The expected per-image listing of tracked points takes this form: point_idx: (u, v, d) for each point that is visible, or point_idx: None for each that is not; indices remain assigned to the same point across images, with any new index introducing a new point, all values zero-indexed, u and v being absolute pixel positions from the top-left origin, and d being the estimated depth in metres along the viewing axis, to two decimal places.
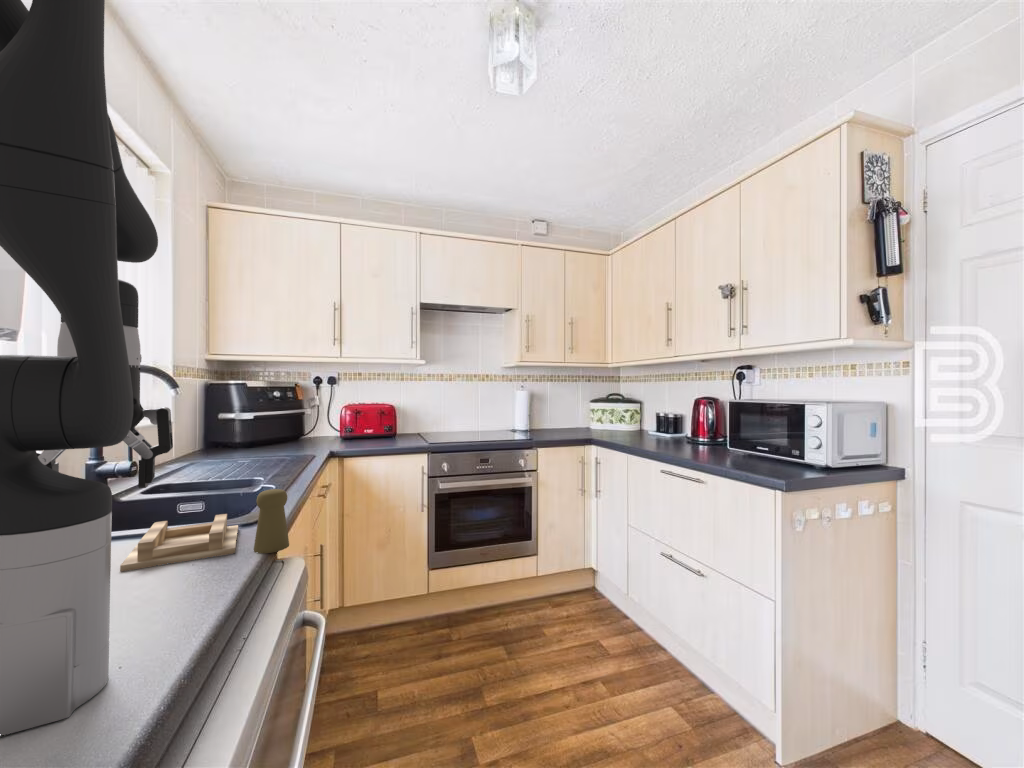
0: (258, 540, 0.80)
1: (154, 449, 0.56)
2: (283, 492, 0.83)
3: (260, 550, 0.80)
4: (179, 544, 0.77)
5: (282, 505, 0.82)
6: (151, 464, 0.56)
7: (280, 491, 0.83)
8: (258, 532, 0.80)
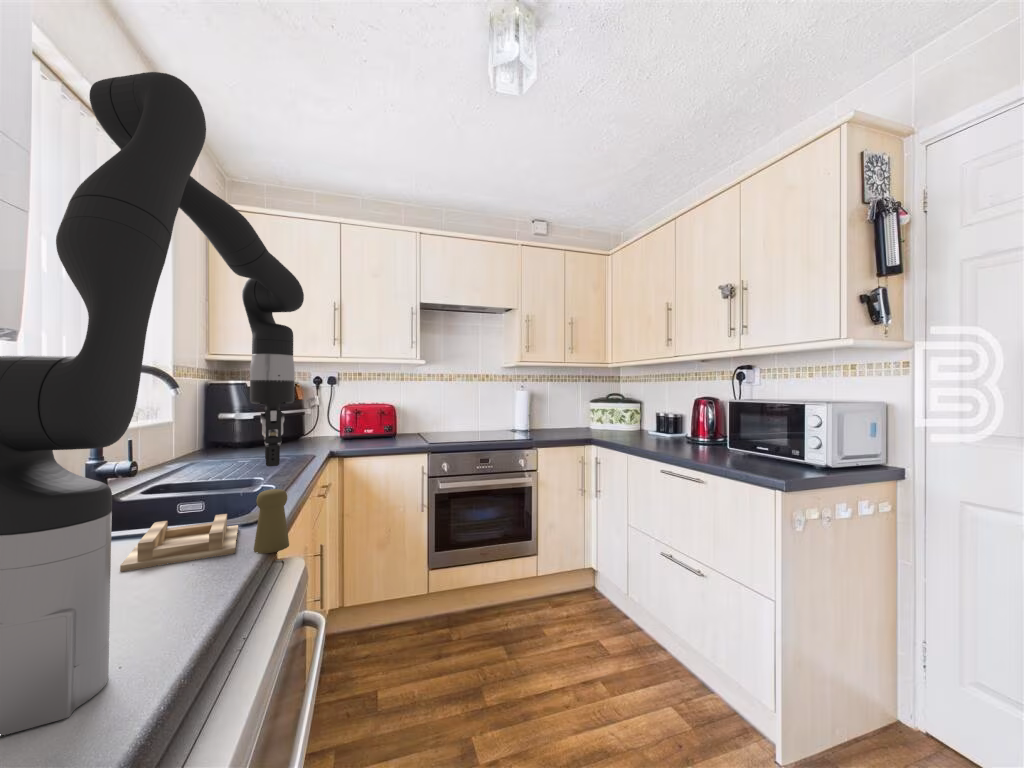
0: (258, 540, 0.80)
1: None
2: (283, 492, 0.83)
3: (260, 550, 0.80)
4: (179, 544, 0.77)
5: (282, 505, 0.82)
6: None
7: (280, 491, 0.83)
8: (258, 532, 0.80)
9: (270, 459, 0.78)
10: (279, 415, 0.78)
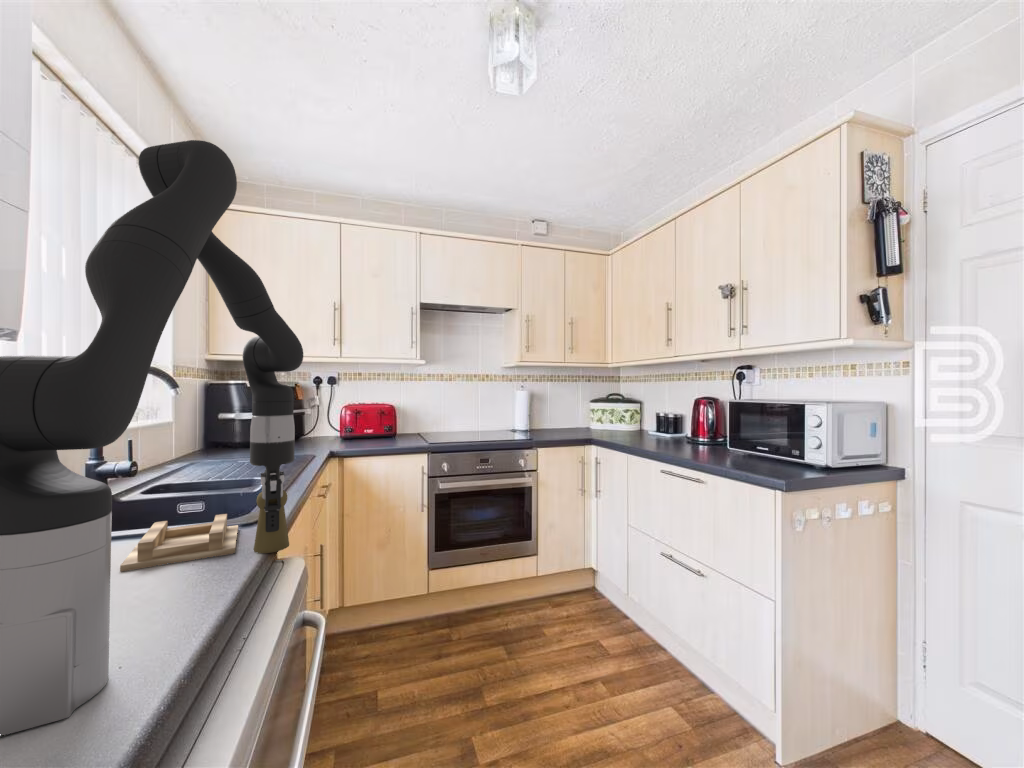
0: (258, 540, 0.80)
1: None
2: (283, 492, 0.83)
3: (260, 550, 0.80)
4: (179, 544, 0.77)
5: (282, 505, 0.82)
6: None
7: None
8: (258, 532, 0.80)
9: (269, 525, 0.79)
10: (279, 486, 0.78)
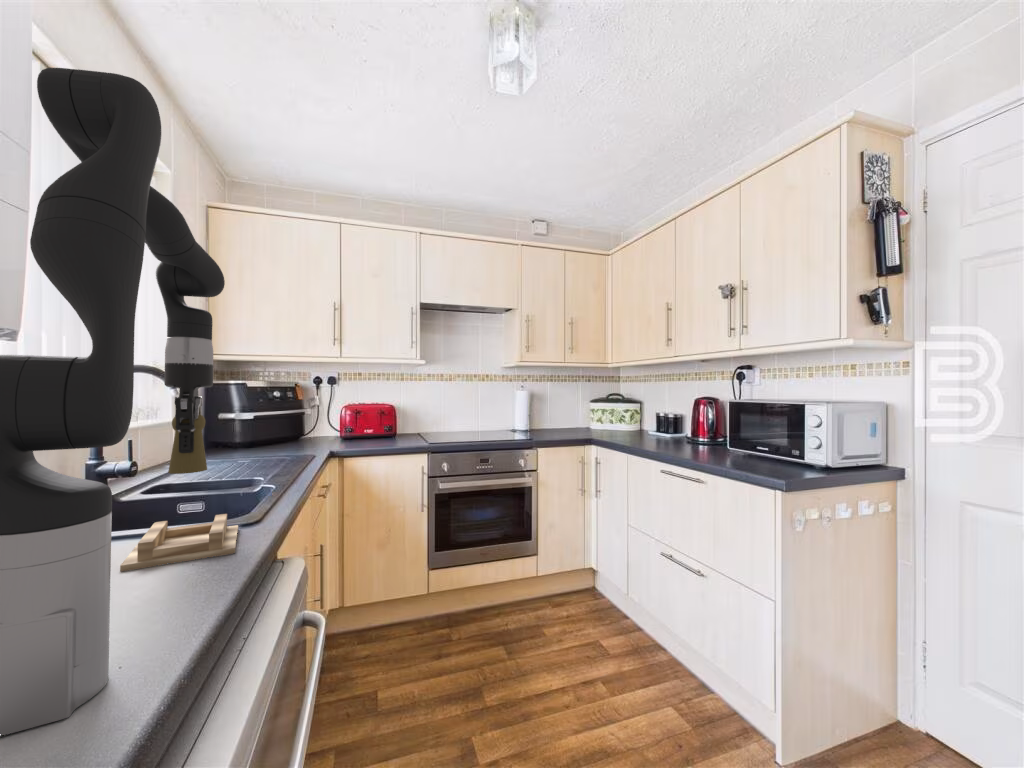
0: (172, 461, 0.80)
1: None
2: (200, 416, 0.83)
3: (174, 471, 0.80)
4: (179, 544, 0.77)
5: (198, 428, 0.82)
6: None
7: None
8: (172, 453, 0.81)
9: (182, 446, 0.79)
10: (190, 404, 0.78)
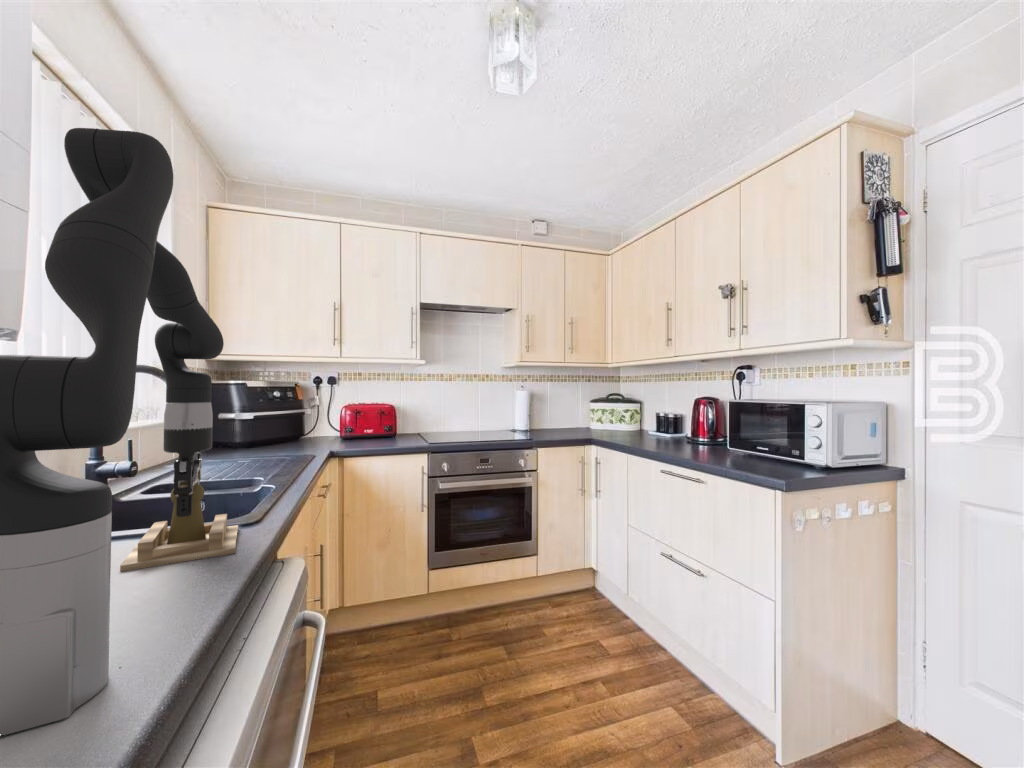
0: (170, 535, 0.80)
1: None
2: (199, 487, 0.83)
3: None
4: (179, 544, 0.77)
5: (197, 500, 0.82)
6: None
7: (195, 486, 0.82)
8: (171, 527, 0.80)
9: (180, 510, 0.78)
10: (189, 466, 0.77)
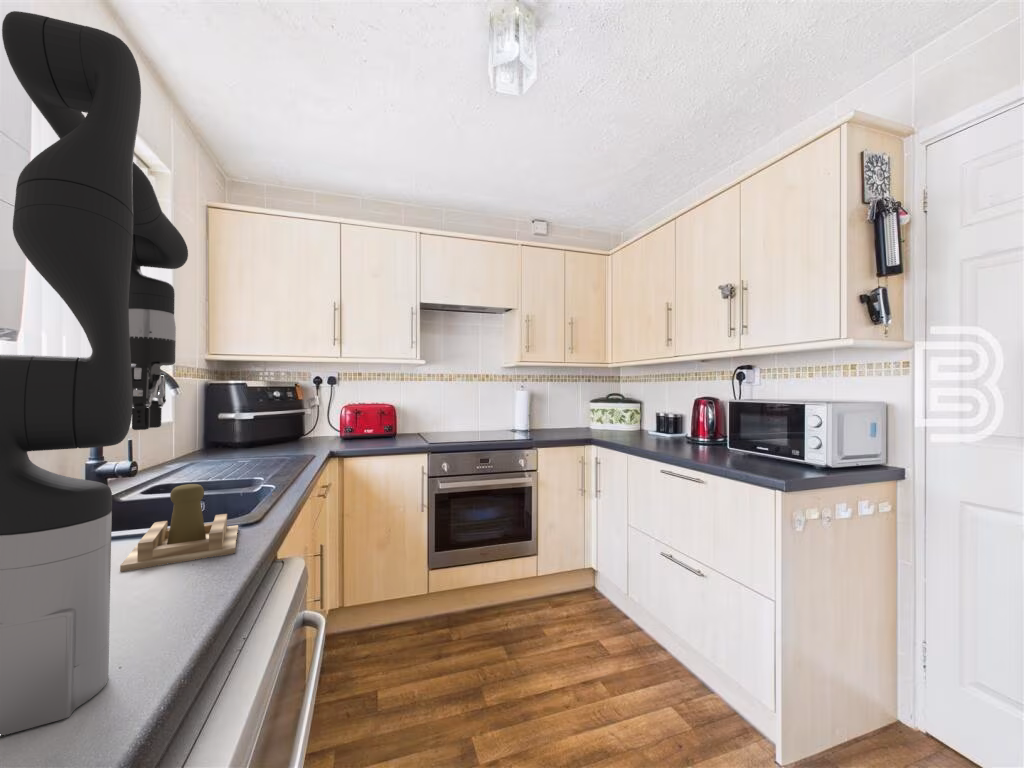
0: (170, 535, 0.80)
1: None
2: (199, 487, 0.83)
3: None
4: (179, 544, 0.77)
5: (197, 500, 0.82)
6: None
7: (195, 486, 0.82)
8: (171, 527, 0.80)
9: (135, 421, 0.72)
10: (144, 373, 0.71)
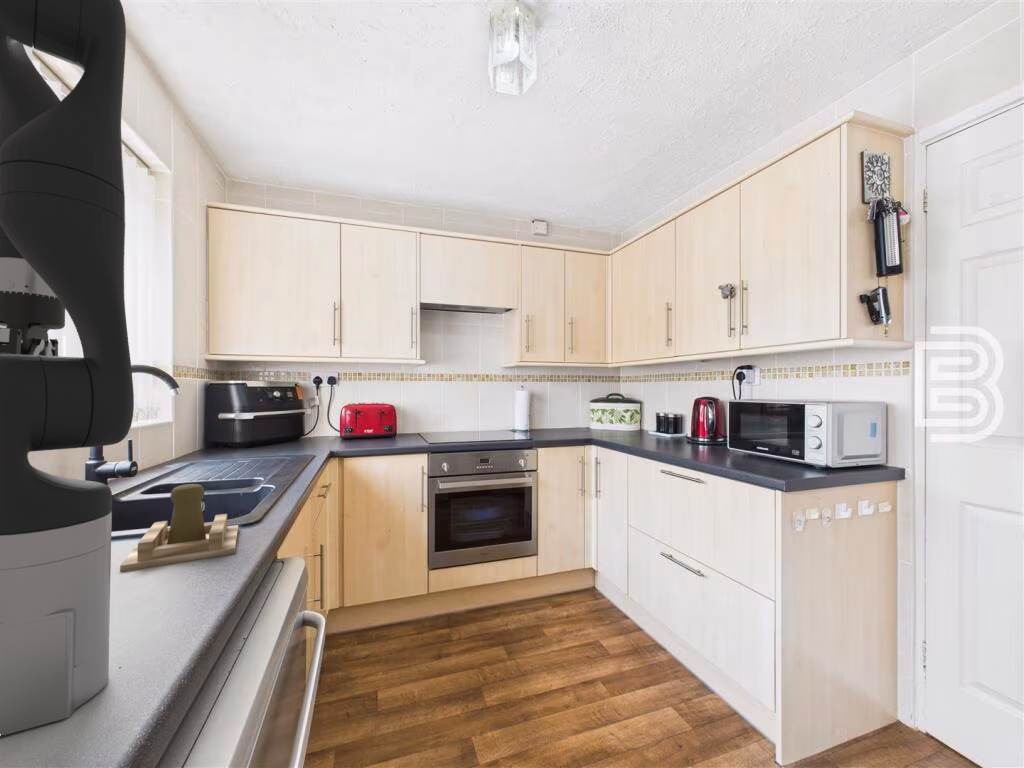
0: (171, 535, 0.80)
1: None
2: (199, 487, 0.83)
3: None
4: (179, 544, 0.77)
5: (197, 500, 0.82)
6: None
7: (196, 486, 0.83)
8: (171, 527, 0.80)
9: None
10: (14, 335, 0.58)
